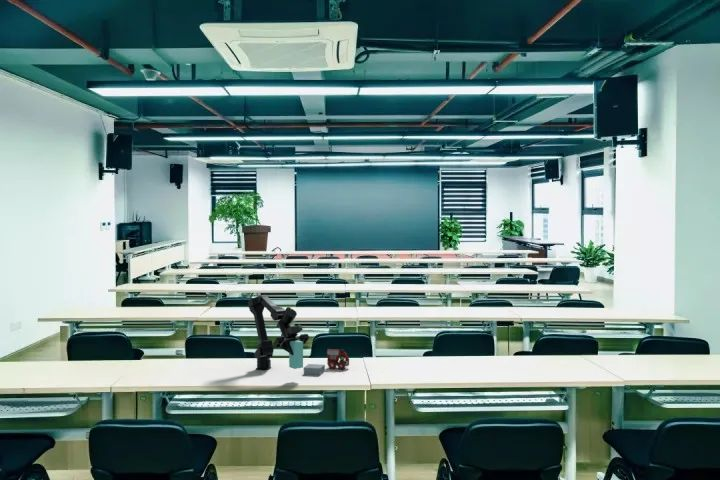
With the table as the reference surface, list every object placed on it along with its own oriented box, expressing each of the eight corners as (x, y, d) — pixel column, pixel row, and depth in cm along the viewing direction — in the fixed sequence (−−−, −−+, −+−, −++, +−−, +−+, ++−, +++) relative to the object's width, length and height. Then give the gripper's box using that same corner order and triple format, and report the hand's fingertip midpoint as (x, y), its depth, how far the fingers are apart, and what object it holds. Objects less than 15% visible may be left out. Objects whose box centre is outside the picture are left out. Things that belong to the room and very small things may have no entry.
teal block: (289, 367, 315) (289, 341, 315) (297, 365, 318) (297, 340, 318) (294, 368, 311) (294, 342, 311) (303, 367, 314) (303, 341, 314)
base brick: (303, 375, 328) (303, 367, 328) (308, 371, 336) (308, 363, 336) (320, 376, 326) (320, 368, 326) (324, 372, 335) (324, 364, 335)
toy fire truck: (348, 370, 339) (348, 350, 339) (325, 369, 341) (325, 350, 340) (349, 367, 346) (350, 348, 346) (327, 366, 347) (327, 347, 347)
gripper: (276, 321, 312) (287, 346, 303) (307, 318, 323) (319, 342, 315) (268, 334, 318) (279, 360, 310) (299, 331, 330) (310, 355, 321)
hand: (297, 354), depth 314 cm, fingers closed on teal block, 5 cm apart
